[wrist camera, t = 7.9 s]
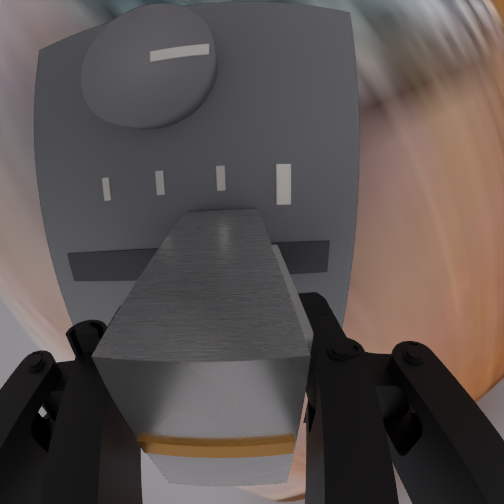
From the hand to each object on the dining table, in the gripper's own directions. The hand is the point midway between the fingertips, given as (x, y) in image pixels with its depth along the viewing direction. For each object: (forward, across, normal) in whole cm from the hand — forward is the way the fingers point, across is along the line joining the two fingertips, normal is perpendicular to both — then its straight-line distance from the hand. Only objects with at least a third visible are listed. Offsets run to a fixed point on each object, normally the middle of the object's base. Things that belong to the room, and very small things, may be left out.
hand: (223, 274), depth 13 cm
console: (+4, -2, +2) cm, 5 cm away
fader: (+1, 0, 0) cm, 1 cm away
